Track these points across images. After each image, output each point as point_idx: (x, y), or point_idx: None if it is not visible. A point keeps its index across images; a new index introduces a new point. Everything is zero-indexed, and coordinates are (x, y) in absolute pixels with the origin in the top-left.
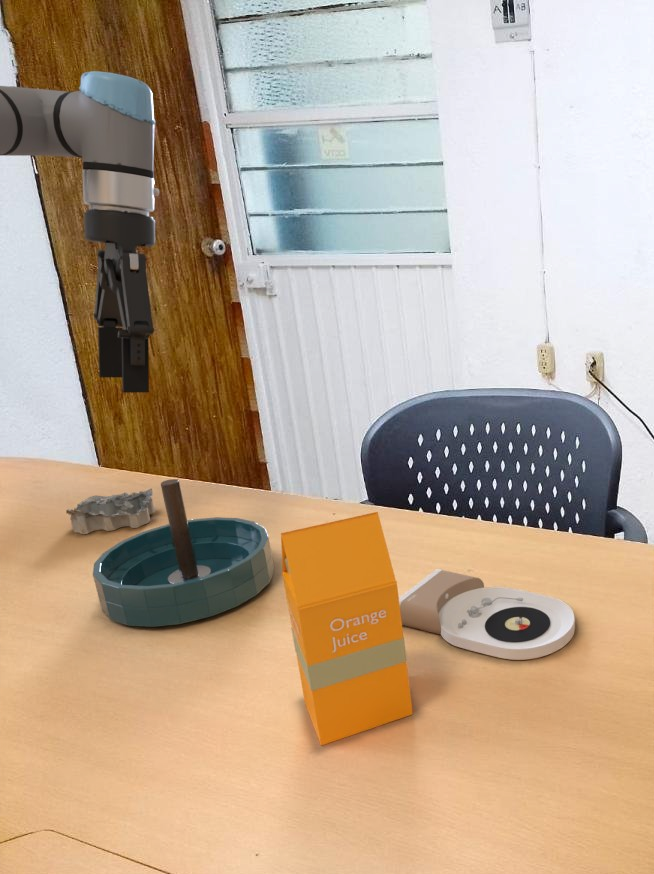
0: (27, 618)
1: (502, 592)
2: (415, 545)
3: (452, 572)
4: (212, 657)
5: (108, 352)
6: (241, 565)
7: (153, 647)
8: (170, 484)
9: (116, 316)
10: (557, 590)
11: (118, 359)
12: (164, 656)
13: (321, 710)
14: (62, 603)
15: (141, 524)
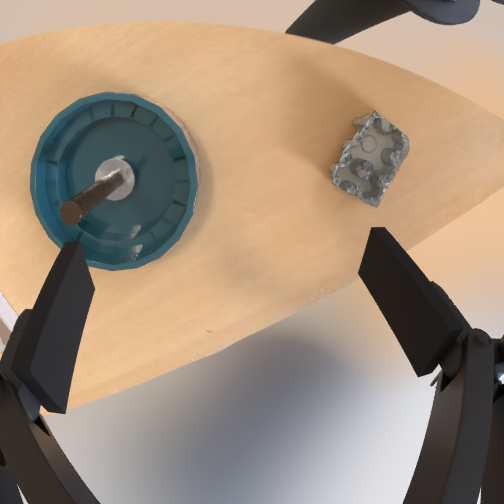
0: (169, 34)
1: (3, 345)
2: (99, 349)
3: None
4: (5, 169)
5: (399, 291)
6: (43, 226)
7: (38, 130)
8: (60, 212)
9: (438, 401)
10: None
11: (382, 296)
12: (22, 137)
13: None
14: (178, 63)
15: (332, 173)
